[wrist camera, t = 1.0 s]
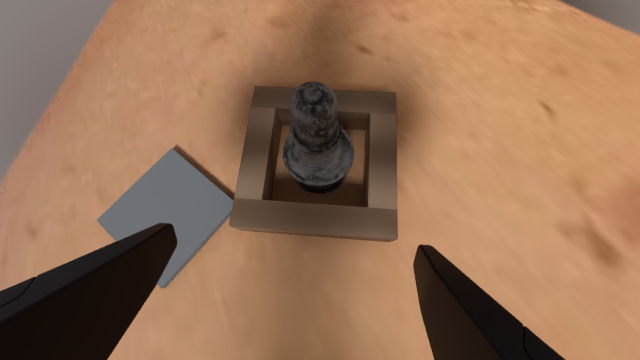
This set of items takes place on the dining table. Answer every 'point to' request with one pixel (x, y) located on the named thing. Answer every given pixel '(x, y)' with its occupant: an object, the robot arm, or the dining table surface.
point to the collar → (309, 218)
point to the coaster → (171, 209)
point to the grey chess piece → (317, 140)
